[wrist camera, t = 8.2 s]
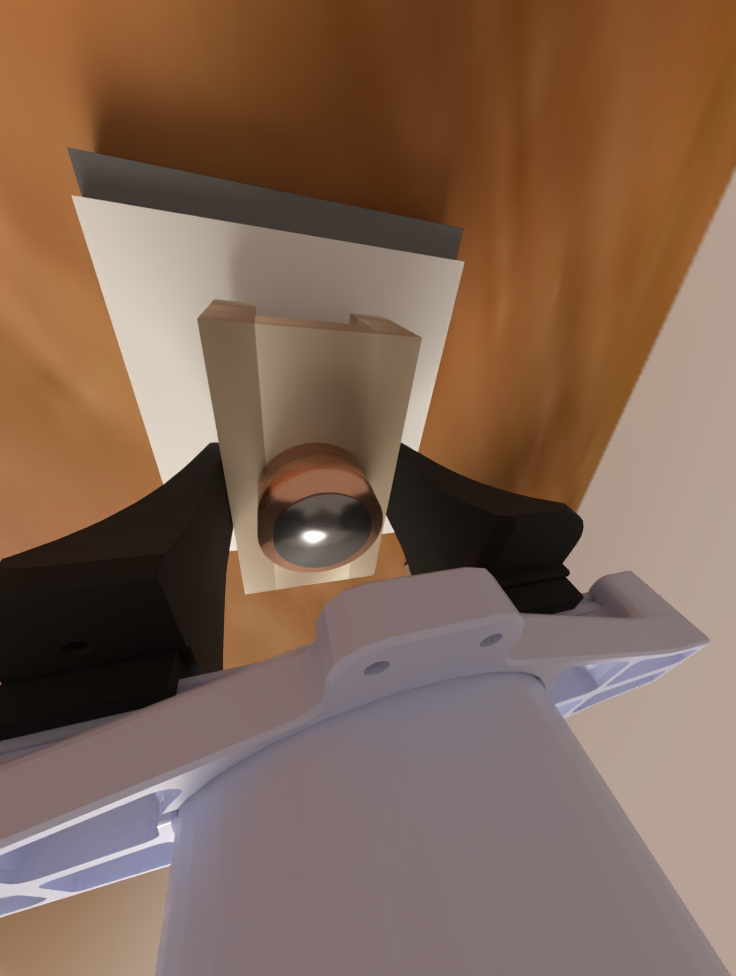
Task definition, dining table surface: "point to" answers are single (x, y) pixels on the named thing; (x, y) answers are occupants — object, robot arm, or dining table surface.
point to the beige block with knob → (303, 410)
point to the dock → (248, 280)
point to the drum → (316, 509)
